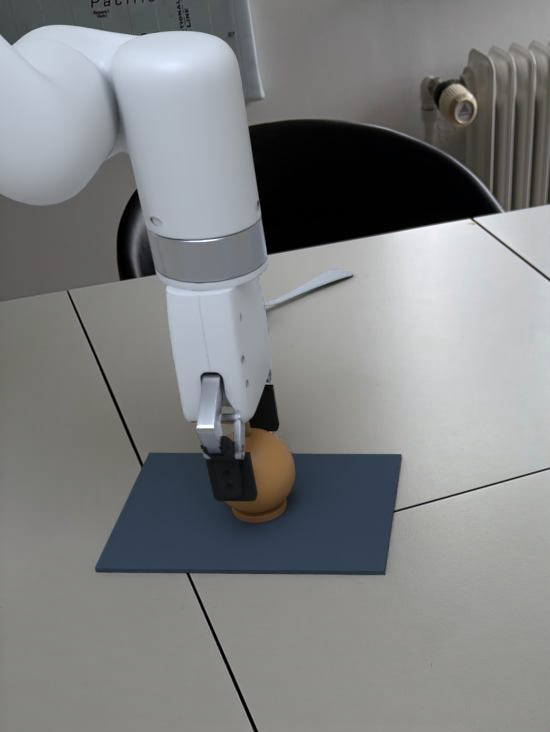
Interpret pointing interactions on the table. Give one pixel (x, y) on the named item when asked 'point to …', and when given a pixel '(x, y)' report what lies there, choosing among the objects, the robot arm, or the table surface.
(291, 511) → the mat
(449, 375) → the table surface
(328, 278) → the fork
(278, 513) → the orange ball with stem
